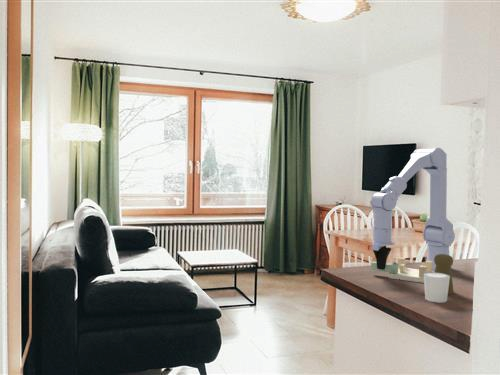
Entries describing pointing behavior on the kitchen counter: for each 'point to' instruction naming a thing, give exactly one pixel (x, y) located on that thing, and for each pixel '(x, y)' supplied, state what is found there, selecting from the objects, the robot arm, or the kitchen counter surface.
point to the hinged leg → (386, 267)
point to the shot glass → (436, 286)
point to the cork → (444, 268)
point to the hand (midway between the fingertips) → (381, 268)
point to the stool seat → (411, 271)
